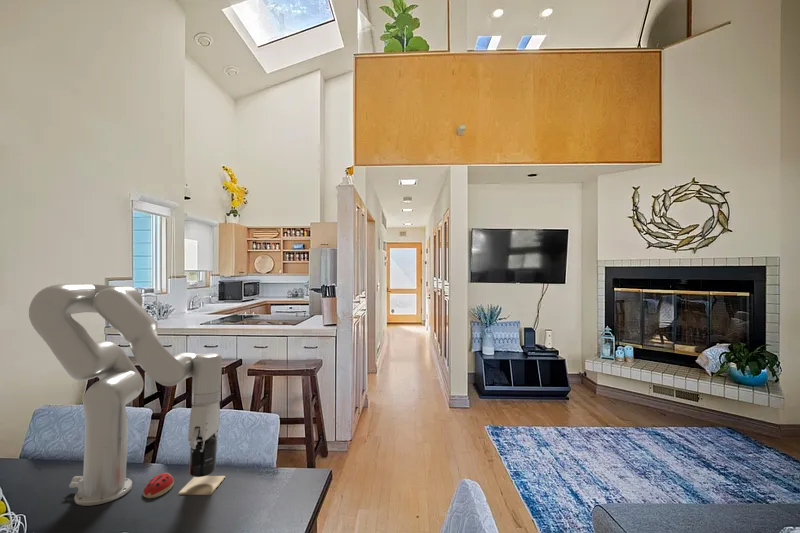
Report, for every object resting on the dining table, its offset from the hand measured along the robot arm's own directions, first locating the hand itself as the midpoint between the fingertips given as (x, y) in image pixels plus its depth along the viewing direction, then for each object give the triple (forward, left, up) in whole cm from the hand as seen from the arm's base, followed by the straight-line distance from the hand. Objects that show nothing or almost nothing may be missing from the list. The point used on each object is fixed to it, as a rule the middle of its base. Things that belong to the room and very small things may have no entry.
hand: (204, 458), depth 111 cm
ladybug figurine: (-12, -2, -8) cm, 14 cm away
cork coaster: (0, 0, -8) cm, 8 cm away
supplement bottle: (0, 0, -4) cm, 4 cm away
